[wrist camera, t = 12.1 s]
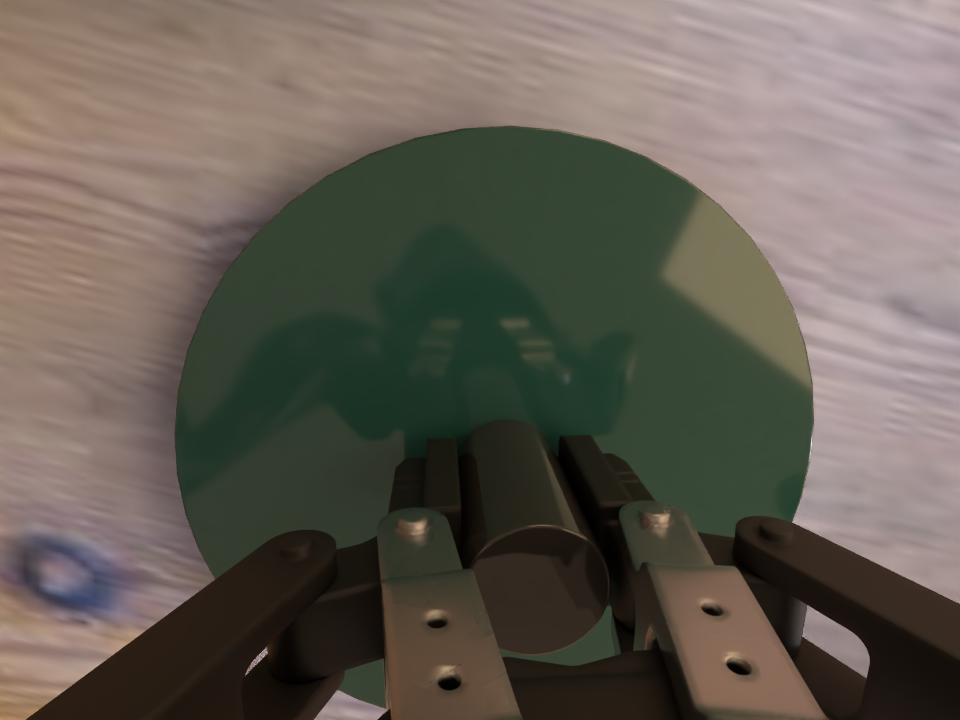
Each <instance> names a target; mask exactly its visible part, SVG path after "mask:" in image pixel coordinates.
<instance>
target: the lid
mask: <svg viewBox="0 0 960 720" xmlns="http://www.w3.org/2000/svg"><path fill="white" fill-rule="evenodd" d="M813 426H814V411H813V387H812V378H811V373H810V368H809V362H808V357H807V351H806V346H805V342H804V339H803V336H802V333H801V330H800V327H799V324H798V321H797V319H796V316H795V313H794V310H793V307H792V305H791V303H790V301H789V299H788V297H787V295H786V293H785V291H784V289H783V287H782V285H781V283H780V281H779V279H778V277H777V275H776V273H775V271H774V270H773V268H772V267H771V266H770V264H769V263H768V261H767V260H766V258H765V257H764V256H763V254H762V253H761V251H760V250H759V249H758V247H757V246H756V244H755V243H754V242H753V240H752V239H751V237H750V236H749V235H748V234H747V233H746V232H745V231H744V230H743V229H742V228H741V227H740V226H739V225H738V224H737V222H736V221H735V220H734V219H733V218H732V217H731V216H730V215H729V214H728V213H727V212H726V211H725V210H724V209H723V208H722V207H721V206H720V205H719V204H718V203H716V202H715V201H714V200H712V199H711V198H710V197H709V196H707V195H706V194H705V193H703V192H702V191H701V190H699V189H698V188H697V187H696V186H694V185H693V184H692V183H690V182H689V181H688V180H687V179H685V178H683V177H682V176H680V175H678V174H676V173H674V172H673V171H671V170H669V169H667V168H666V167H664V166H662V165H660V164H658V163H657V162H655V161H653V160H651V159H650V158H648V157H646V156H643V155H641V154H638V153H635V152H633V151H630V150H628V149H625V148H622V147H620V146H617V145H615V144H612V143H610V142H607V141H604V140H600V139H596V138H591V137H587V136H583V135H578V134H574V133H570V132H565V131H561V130H554V129H542V128H530V127H518V126H500V127H482V128H464V129H458V130H453V131H448V132H443V133H438V134H433V135H428V136H423V137H418V138H414V139H411V140H408V141H405V142H402V143H400V144H397V145H394V146H391V147H388V148H385V149H382V150H380V151H377V152H374V153H371V154H369V155H367V156H365V157H363V158H361V159H359V160H357V161H355V162H353V163H351V164H349V165H347V166H345V167H343V168H341V169H340V170H338V171H336V172H334V173H332V174H330V175H328V176H326V177H325V178H323V179H322V180H320V181H319V182H318V183H316V184H315V185H313V186H312V187H311V188H309V189H308V190H306V191H305V192H304V193H302V194H301V195H299V196H298V197H297V198H295V199H294V200H292V201H291V202H290V203H288V204H287V205H286V206H285V207H284V208H283V209H282V210H281V211H280V212H279V213H278V214H276V215H275V216H274V217H273V218H272V219H271V220H270V221H269V222H268V223H267V224H266V225H265V226H264V227H263V228H262V229H261V230H260V231H259V232H258V233H256V234H255V235H254V236H253V238H252V239H251V240H250V242H249V243H248V244H247V245H246V247H245V248H244V249H243V250H242V252H241V253H240V254H239V256H238V257H237V258H236V259H235V261H234V262H233V263H232V264H231V266H230V267H229V268H228V270H227V271H226V272H225V274H224V276H223V277H222V279H221V281H220V283H219V284H218V286H217V288H216V289H215V291H214V293H213V295H212V296H211V298H210V300H209V302H208V303H207V305H206V307H205V309H204V310H203V313H202V315H201V318H200V320H199V323H198V325H197V328H196V331H195V333H194V336H193V338H192V341H191V343H190V346H189V348H188V351H187V355H186V359H185V364H184V368H183V372H182V377H181V381H180V385H179V390H178V396H177V409H176V421H175V449H176V464H177V476H178V481H179V485H180V490H181V495H182V499H183V504H184V509H185V513H186V516H187V519H188V521H189V524H190V527H191V529H192V532H193V535H194V538H195V540H196V543H197V546H198V548H199V551H200V552H201V554H202V556H203V558H204V560H205V562H206V564H207V565H208V567H209V569H210V571H211V573H212V575H213V577H214V578H215V579H217V578H218V577H219V576H221V575H222V574H223V573H225V572H226V571H228V570H229V569H230V568H232V567H233V566H234V565H236V564H237V563H238V562H240V561H241V560H242V559H244V558H245V557H246V556H248V555H249V554H251V553H252V552H253V551H255V550H256V549H257V548H259V547H260V546H261V545H263V544H264V543H265V542H267V541H268V540H270V539H272V538H274V537H276V536H278V535H281V534H283V533H287V532H290V531H295V530H318V531H322V532H325V533H327V534H329V535H331V536H332V537H333V538H334V539H335V541H336V548H337V549H341V548H345V547H350V546H354V545H358V544H361V543H363V542H366V541H368V540H370V539H372V538H374V537H375V536H377V525H378V523H379V521H380V520H381V519H382V518H383V517H384V516H386V515H387V514H388V511H389V505H390V499H391V493H392V486H393V481H394V474H395V468H396V467H397V466H398V465H399V464H400V463H401V462H402V461H403V460H404V459H405V458H426V451H427V438H456V444H457V457H458V470H459V483H460V496H461V534H462V547H461V552H460V562H461V565H462V568H463V569H469V568H471V569H472V570H473V572H474V575H475V578H476V581H477V584H478V587H479V590H480V593H481V596H482V599H483V602H484V605H485V608H486V611H487V614H488V617H489V620H490V623H491V626H492V629H493V632H494V635H495V638H496V641H497V644H498V647H499V650H500V653H501V656H502V657H514V658H521V659H527V660H534V661H541V662H547V663H554V664H561V665H568V666H578V665H583V664H586V663H590V662H594V661H597V660H601V659H605V658H608V657H612V656H615V651H614V646H613V641H612V637H611V616H612V608H611V606H607V604H608V601H609V597H610V591H611V577H610V571H609V567H608V564H607V562H606V560H605V557H604V555H603V553H602V551H601V549H600V547H599V545H598V543H597V540H596V538H595V536H594V534H593V532H592V530H591V528H590V525H589V523H588V521H587V519H586V517H585V515H584V513H583V511H582V508H581V506H580V504H579V502H578V500H577V498H576V496H575V494H574V491H573V489H572V487H571V485H570V483H569V481H568V479H567V477H566V474H565V472H564V470H563V468H562V466H561V464H560V462H559V459H558V445H559V439H560V436H563V435H591V436H592V438H593V439H594V441H595V442H596V444H597V445H598V447H599V449H600V450H601V452H602V453H613V454H614V455H616V456H618V457H620V458H621V459H623V460H625V461H626V462H628V464H629V465H630V467H631V468H632V469H633V471H634V472H635V474H636V475H637V476H638V478H639V479H640V480H641V483H643V484H644V486H645V487H646V488H647V490H648V491H649V493H650V494H651V495H652V497H653V498H654V499H655V501H656V502H662V503H666V504H669V505H672V506H674V507H676V508H678V509H680V510H682V511H683V512H684V513H686V514H687V515H688V517H689V518H690V520H691V521H692V523H693V525H694V527H695V529H696V531H697V532H701V533H707V534H713V535H720V536H726V537H733V538H734V536H735V529H736V524H737V522H738V521H739V520H741V519H743V518H745V517H750V516H768V517H774V518H779V519H782V520H786V521H789V522H791V523H792V521H793V518H794V515H795V513H796V510H797V507H798V504H799V502H800V499H801V496H802V493H803V488H804V484H805V480H806V475H807V471H808V467H809V462H810V457H811V447H812V436H813ZM337 690H339V691H341V692H344V693H346V694H348V695H350V696H352V697H354V698H356V699H358V700H361V701H364V702H367V703H370V704H373V705H376V706H379V707H382V708H385V709H386V697H385V682H384V667H383V659H380V660H377V661H373V662H370V663H367V664H364V665H360V666H357V667H354V668H351V669H348V670H345V675H344V679H343V681H342V684H341V685H340V687H339V688H338V689H337Z"/></svg>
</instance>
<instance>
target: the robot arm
mask: <svg viewBox="0 0 960 720" xmlns="http://www.w3.org/2000/svg"><path fill="white" fill-rule="evenodd" d="M558 459H559V462H560V464H561V466H562V468H563V470H564V472H565V474H566V477H567V479H568V481H569V483H570V485H571V487H572V489H573V491H574V494H575V496H576V498H577V500H578V502H579V504H580V506H581V508H582V511H583V513H584V515H585V517H586V519H587V521H588V523H589V525H590V528H591V530H592V532H593V534H594V536H595V538H596V540H597V543H598V545H599V547H600V549H601V551H602V553H603V555H604V557H605V560H606V562H607V564H608V567H609V571H610V577H611V591H610V597H609V601H608V604H607V606H611V608H612V616H611V637H612V641H613V646H614V651H615V656H612V657H608V658H605V659H601V660H597V661H594V662H590V663H586V664H583V665H578V666H568V665H561V664H554V663H547V662H541V661H534V660H527V659H521V658H514V657H502V656H501V653H500V650H499V647H498V644H497V641H496V638H495V635H494V632H493V629H492V626H491V623H490V620H489V617H488V614H487V611H486V608H485V605H484V602H483V599H482V596H481V593H480V590H479V587H478V584H477V581H476V578H475V575H474V572H473V570H472V569H471V568H469V569H463V568H462V565H461V562H460V552H461V547H462V534H461V496H460V483H459V470H458V457H457V444H456V438H427V451H426V458H405V459H404V460H403V461H402V462H401V463H400V464H399V465H398V466H397V467H396V468H395V474H394V481H393V486H392V493H391V499H390V505H389V511H388V514H387V515H386V516H384V517H383V518H382V519H381V520H380V521H379V523H378V525H377V536H375V537H374V538H372V539H370V540H368V541H366V542H363V543H361V544H358V545H354V546H350V547H345V548H341V549H337V548H336V541H335V539H334V538H333V537H332V536H331V535H329V534H327V533H325V532H322V531H318V530H295V531H290V532H287V533H283V534H281V535H278V536H276V537H274V538H272V539H270V540H268V541H267V542H265V543H264V544H263V545H261V546H260V547H259V548H257V549H256V550H255V551H253V552H252V553H251V554H249V555H248V556H246V557H245V558H244V559H242V560H241V561H240V562H238V563H237V564H236V565H234V566H233V567H232V568H230V569H229V570H228V571H226V572H225V573H223V574H222V575H221V576H219V577H218V578H217V579H215V580H214V581H213V582H211V583H210V584H209V585H207V586H206V587H205V588H203V589H202V590H200V591H199V592H198V593H196V594H195V595H194V596H192V597H191V598H190V599H188V600H187V601H186V602H184V603H183V604H182V605H180V606H179V607H177V608H176V609H175V610H173V611H172V612H171V613H169V614H168V615H167V616H165V617H164V618H163V619H161V620H160V621H159V622H157V623H156V624H154V625H153V626H152V627H150V628H149V629H148V630H146V631H145V632H144V633H142V634H141V635H140V636H138V637H137V638H135V639H134V640H133V641H131V642H130V643H129V644H127V645H126V646H125V647H123V648H122V649H121V650H119V651H118V652H117V653H115V654H114V655H112V656H111V657H110V658H108V659H107V660H106V661H104V662H103V663H102V664H100V665H99V666H98V667H96V668H95V669H94V670H92V671H91V672H89V673H88V674H87V675H85V676H84V677H83V678H81V679H80V680H79V681H77V682H76V683H75V684H73V685H72V686H71V687H69V688H68V689H66V690H65V691H64V692H62V693H61V694H60V695H58V696H57V697H56V698H54V699H53V700H52V701H50V702H49V703H48V704H46V705H45V706H43V707H42V708H41V709H39V710H38V711H37V712H35V713H34V714H33V715H31V716H30V717H29V718H27V719H26V720H314V718H315V717H316V716H317V715H318V713H319V712H320V711H321V710H322V708H323V707H324V706H325V705H326V703H327V702H328V701H329V700H330V698H331V697H332V696H333V694H334V693H335V692H336V691H337V689H338V688H339V687H340V685H341V684H342V681H343V679H344V675H345V670H348V669H351V668H354V667H357V666H360V665H364V664H367V663H370V662H373V661H377V660H380V659H383V667H384V682H385V697H386V712H385V713H384V714H383V715H382V716H381V717H380V718H379V719H378V720H960V604H958V603H956V602H954V601H952V600H950V599H948V598H946V597H944V596H942V595H940V594H938V593H936V592H934V591H932V590H930V589H928V588H926V587H923V586H921V585H919V584H917V583H915V582H913V581H911V580H909V579H907V578H905V577H903V576H901V575H899V574H897V573H895V572H893V571H891V570H889V569H887V568H884V567H882V566H880V565H878V564H876V563H874V562H872V561H870V560H868V559H866V558H864V557H862V556H860V555H858V554H856V553H854V552H852V551H850V550H848V549H845V548H843V547H841V546H839V545H837V544H835V543H833V542H831V541H829V540H827V539H825V538H823V537H821V536H819V535H817V534H815V533H813V532H811V531H809V530H806V529H804V528H802V527H800V526H798V525H796V524H794V523H791V522H789V521H786V520H782V519H779V518H774V517H768V516H750V517H745V518H743V519H741V520H739V521H738V522H737V524H736V529H735V536H734V538H733V537H726V536H720V535H713V534H707V533H701V532H697V531H696V529H695V527H694V525H693V523H692V521H691V520H690V518H689V517H688V515H687V514H686V513H684V512H683V511H682V510H680V509H678V508H676V507H674V506H672V505H669V504H666V503H662V502H656V501H655V499H654V498H653V497H652V495H651V494H650V493H649V491H648V490H647V488H646V487H645V486H644V484H643V483H641V480H640V479H639V478H638V476H637V475H636V474H635V472H634V471H633V469H632V468H631V467H630V465H629V464H628V462H626V461H625V460H623V459H621V458H620V457H618V456H616V455H614V454H613V453H602V452H601V450H600V449H599V447H598V445H597V444H596V442H595V441H594V439H593V438H592V436H591V435H563V436H560V439H559V445H558ZM807 605H808V606H810V607H812V608H813V609H815V610H817V611H818V612H820V613H822V614H823V615H825V616H827V617H828V618H830V619H832V620H833V621H835V622H837V623H838V624H840V625H842V626H843V627H845V628H847V629H848V630H850V631H851V632H853V633H854V634H855V635H857V636H858V637H859V638H860V639H861V641H862V642H863V643H864V645H865V647H866V648H867V650H868V653H869V656H870V666H869V670H868V675H867V679H866V678H865V677H863V676H862V675H860V674H859V673H857V672H856V671H854V670H853V669H851V668H849V667H848V666H846V665H845V664H843V663H842V662H840V661H839V660H837V659H836V658H834V657H833V656H831V655H830V654H828V653H826V652H825V651H823V650H822V649H820V648H819V647H817V646H816V645H814V644H813V643H811V642H810V641H808V640H807V639H805V638H803V637H802V633H803V627H804V621H805V615H806V610H807ZM266 647H267V650H268V654H267V655H266V656H265V657H264V658H263V659H262V660H261V661H260V662H259V663H258V664H257V665H256V666H255V667H254V668H253V669H252V670H251V671H250V672H249V673H248V674H247V675H246V676H245V674H246V671H247V669H248V667H249V666H250V664H251V663H252V661H253V660H254V659H255V658H256V657H257V656H258V655H259V654H260V653H261V652H262V651H263V650H264V649H265V648H266ZM244 676H245V677H244Z"/></svg>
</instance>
